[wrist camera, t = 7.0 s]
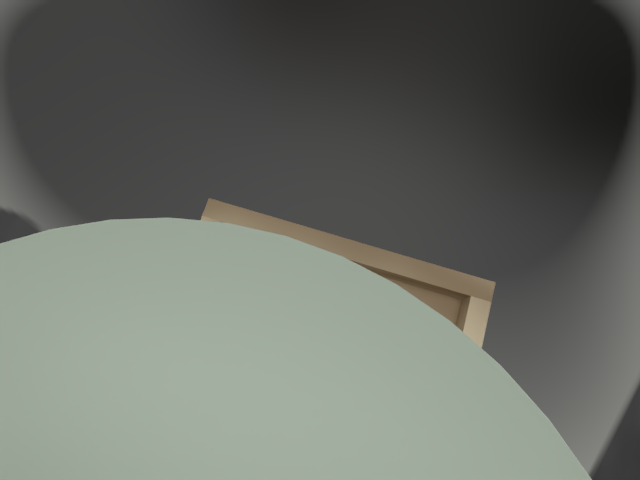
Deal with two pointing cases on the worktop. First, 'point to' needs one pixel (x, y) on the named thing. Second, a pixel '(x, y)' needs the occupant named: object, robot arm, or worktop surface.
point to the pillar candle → (243, 366)
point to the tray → (384, 268)
